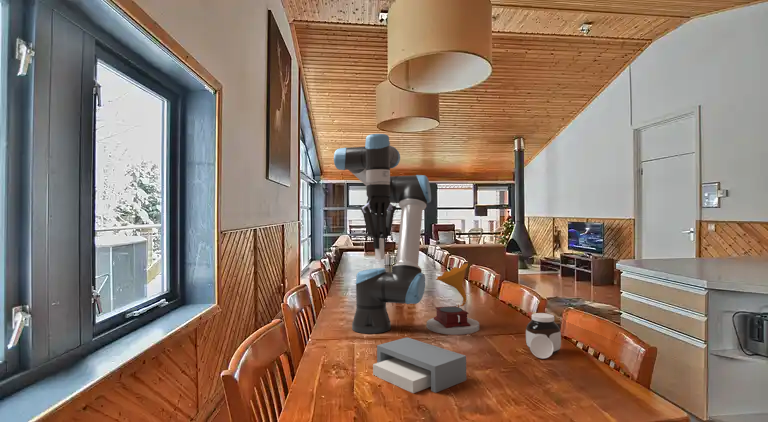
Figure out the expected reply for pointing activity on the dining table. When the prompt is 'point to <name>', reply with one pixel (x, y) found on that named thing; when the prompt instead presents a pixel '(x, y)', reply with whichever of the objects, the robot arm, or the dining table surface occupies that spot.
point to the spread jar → (543, 335)
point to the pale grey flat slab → (403, 374)
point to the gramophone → (453, 308)
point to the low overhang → (427, 360)
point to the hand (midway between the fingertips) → (379, 258)
